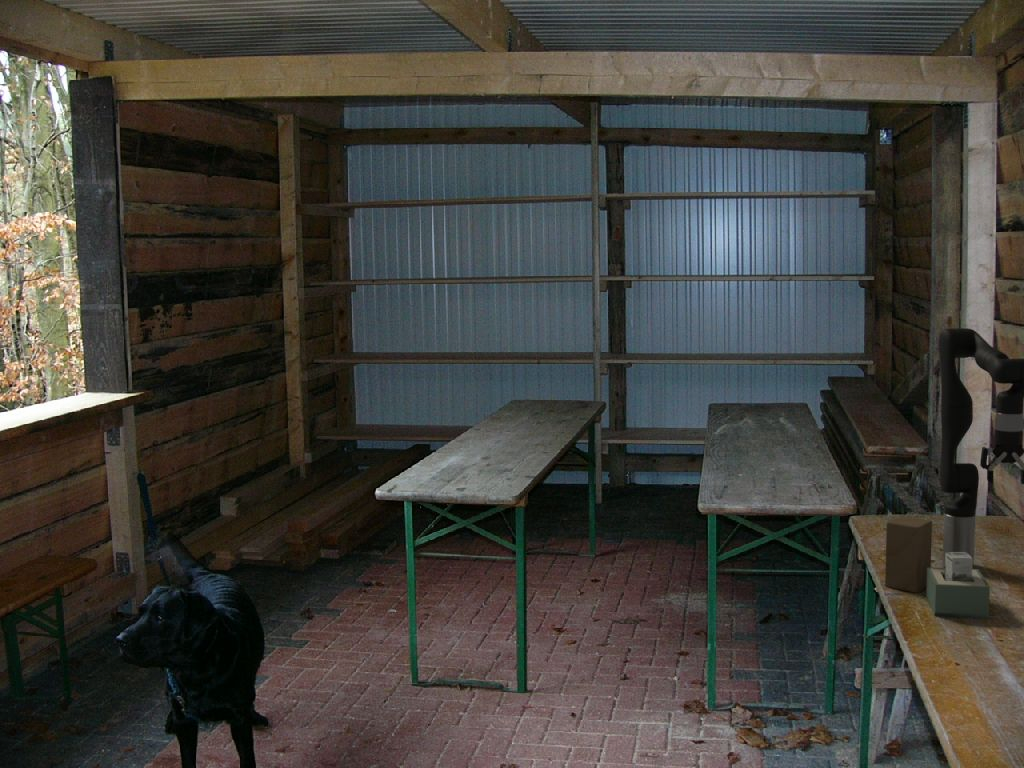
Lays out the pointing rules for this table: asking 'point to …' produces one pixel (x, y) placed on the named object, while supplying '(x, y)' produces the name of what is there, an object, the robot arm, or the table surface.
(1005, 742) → the table surface
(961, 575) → the syrup box
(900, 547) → the wooden block
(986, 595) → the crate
